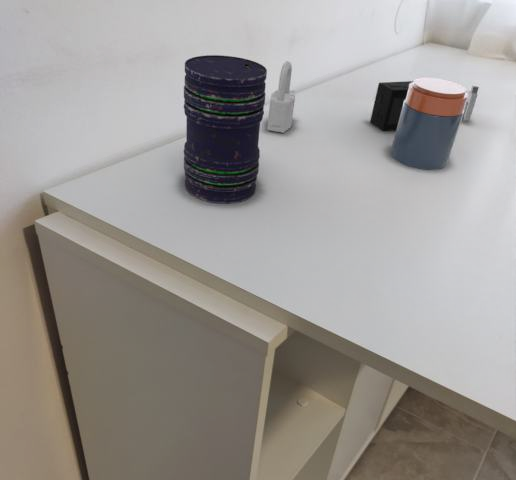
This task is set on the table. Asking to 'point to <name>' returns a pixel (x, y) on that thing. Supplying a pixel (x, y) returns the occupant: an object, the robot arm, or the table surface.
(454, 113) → the lidded canister
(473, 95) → the caliper
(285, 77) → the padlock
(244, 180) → the storage jar
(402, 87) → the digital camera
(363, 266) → the table surface
